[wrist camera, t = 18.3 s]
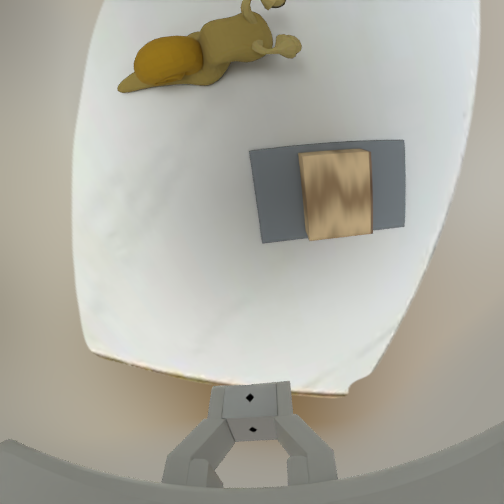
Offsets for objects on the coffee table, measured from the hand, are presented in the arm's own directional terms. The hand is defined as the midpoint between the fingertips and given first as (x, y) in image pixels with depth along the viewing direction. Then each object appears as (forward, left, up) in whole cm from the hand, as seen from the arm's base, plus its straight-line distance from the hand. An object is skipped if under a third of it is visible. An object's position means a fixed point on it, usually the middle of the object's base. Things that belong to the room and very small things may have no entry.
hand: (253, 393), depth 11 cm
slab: (0, +6, -27) cm, 27 cm away
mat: (0, +10, -29) cm, 31 cm away
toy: (-18, -4, -29) cm, 35 cm away
